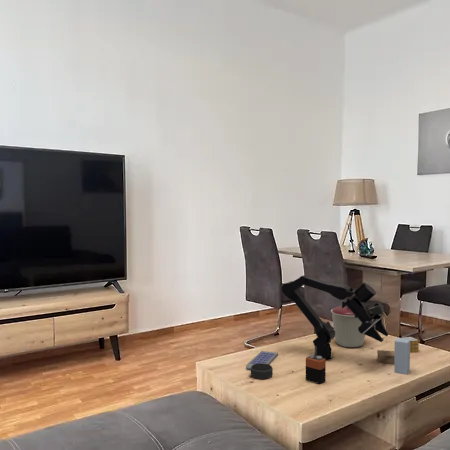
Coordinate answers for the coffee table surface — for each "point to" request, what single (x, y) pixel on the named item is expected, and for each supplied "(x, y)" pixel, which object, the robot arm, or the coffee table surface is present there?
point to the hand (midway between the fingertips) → (385, 338)
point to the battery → (316, 369)
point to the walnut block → (385, 357)
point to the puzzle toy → (413, 344)
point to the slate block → (402, 356)
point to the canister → (347, 327)
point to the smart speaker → (261, 371)
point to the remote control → (262, 359)
